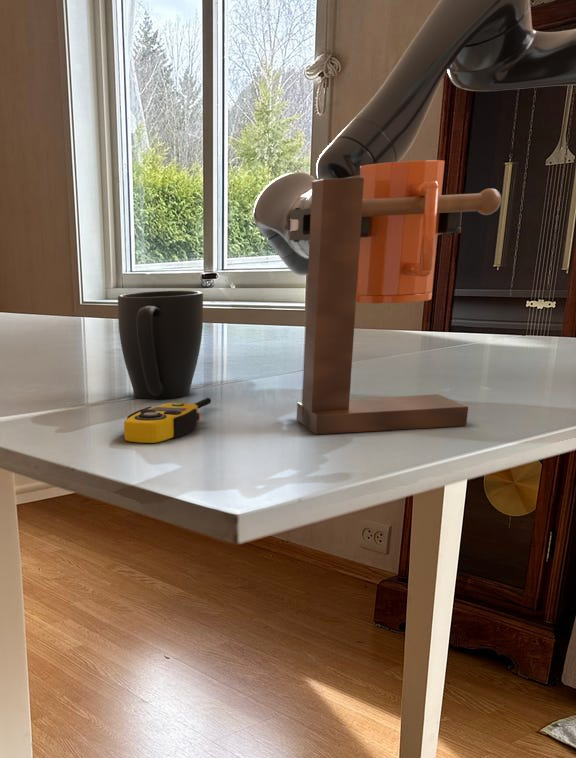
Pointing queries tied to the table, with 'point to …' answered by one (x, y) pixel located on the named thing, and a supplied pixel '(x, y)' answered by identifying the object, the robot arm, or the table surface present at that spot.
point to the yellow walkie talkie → (162, 422)
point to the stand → (337, 313)
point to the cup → (400, 234)
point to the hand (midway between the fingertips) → (409, 219)
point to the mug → (161, 340)
